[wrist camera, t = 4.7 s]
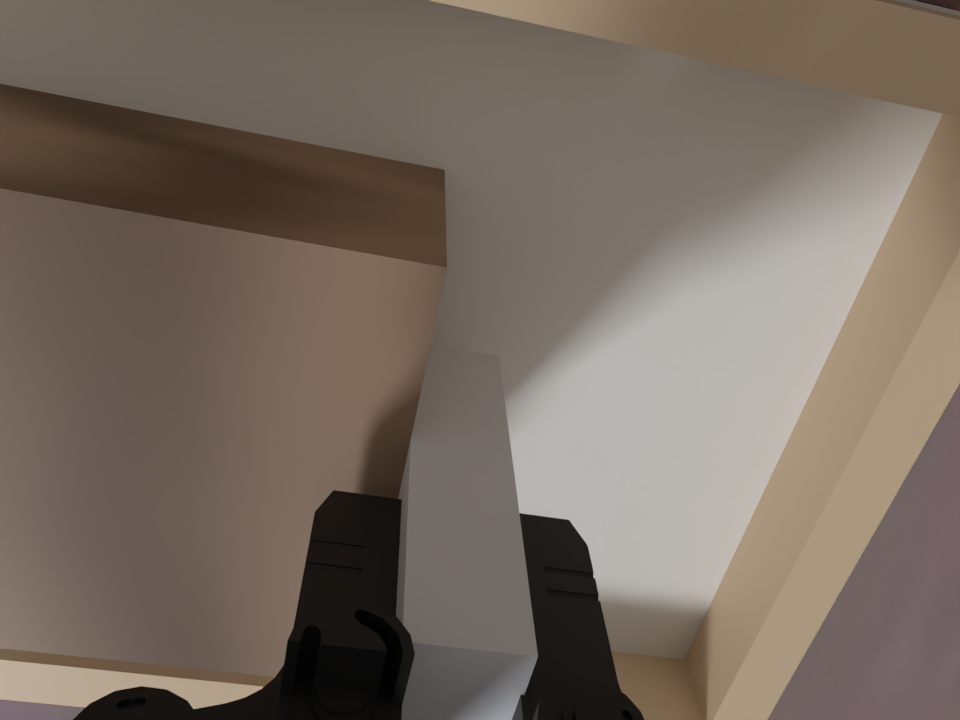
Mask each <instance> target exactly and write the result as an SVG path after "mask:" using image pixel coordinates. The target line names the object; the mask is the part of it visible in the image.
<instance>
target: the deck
mask: <svg viewBox="0 0 960 720" xmlns="http://www.w3.org/2000/svg"><path fill="white" fill-rule="evenodd" d="M0 84H5V85H10V86H15V87H20V88H25V89H30V90H35V91H41V92H46V93H51V94H56V95H61V96H66V97H72V98H77V99H82V100H87V101H92V102H97V103H102V104H108V105H113V106H118V107H123V108H128V109H133V110H139V111H144V112H149V113H154V114H159V115H164V116H170V117H175V118H180V119H185V120H190V121H195V122H200V123H206V124H211V125H216V126H221V127H226V128H231V129H237V130H242V131H247V132H252V133H257V134H262V135H268V136H273V137H278V138H283V139H288V140H293V141H298V142H304V143H309V144H314V145H319V146H324V147H329V148H335V149H340V150H345V151H350V152H355V153H360V154H366V155H371V156H376V157H381V158H386V159H391V160H396V161H402V162H407V163H412V164H417V165H422V166H427V167H433V168H438V169H443V170H445V207H446V248H447V270H446V275H445V279H444V284H443V289H442V294H441V298H440V303H439V308H438V313H437V317H436V322H435V327H434V332H433V336H432V341H431V345H436V346H442V347H448V348H454V349H460V350H467V351H473V352H479V353H485V354H491V355H497V356H499V360H500V368H501V375H502V383H503V391H504V398H505V406H506V414H507V422H508V429H509V437H510V445H511V452H512V460H513V468H514V475H515V483H516V491H517V499H518V506H519V513H522V514H529V515H537V516H544V517H551V518H559V519H566V520H569V521H570V522H571V523H572V525H573V526H574V527H575V529H576V530H577V532H578V533H579V534H580V536H581V537H582V538H583V540H584V541H585V543H586V544H587V545H588V549H589V554H590V558H591V563H592V567H593V572H594V574H593V578H595V581H596V585H597V590H598V594H599V596H598V601H600V603H601V607H602V612H603V616H604V621H605V625H606V630H607V634H608V639H609V643H610V648H611V652H612V657H613V661H614V666H615V670H616V675H617V679H618V683H619V686H620V689H621V692H622V693H624V694H626V696H627V697H628V698H629V699H630V700H631V701H632V702H633V703H634V704H635V705H636V707H637V708H638V709H639V710H640V711H641V713H642V715H643V717H644V720H767V719H768V717H769V715H770V714H771V712H772V710H773V708H774V707H775V705H776V703H777V702H778V700H779V698H780V696H781V695H782V693H783V691H784V689H785V688H786V686H787V684H788V682H789V681H790V679H791V677H792V675H793V674H794V672H795V670H796V668H797V667H798V665H799V663H800V661H801V660H802V658H803V656H804V654H805V653H806V651H807V649H808V647H809V646H810V644H811V642H812V640H813V639H814V637H815V635H816V633H817V632H818V630H819V628H820V626H821V625H822V623H823V621H824V619H825V618H826V616H827V614H828V612H829V611H830V609H831V607H832V605H833V604H834V602H835V600H836V598H837V597H838V595H839V593H840V591H841V590H842V588H843V586H844V584H845V583H846V581H847V579H848V577H849V576H850V574H851V572H852V570H853V569H854V567H855V565H856V564H857V562H858V560H859V558H860V557H861V555H862V553H863V551H864V550H865V548H866V546H867V544H868V543H869V541H870V539H871V537H872V536H873V534H874V532H875V530H876V529H877V527H878V525H879V523H880V522H881V520H882V518H883V516H884V515H885V513H886V511H887V509H888V508H889V506H890V504H891V502H892V501H893V499H894V497H895V495H896V494H897V492H898V490H899V488H900V487H901V485H902V483H903V481H904V480H905V478H906V476H907V474H908V473H909V471H910V469H911V467H912V466H913V464H914V462H915V460H916V459H917V457H918V455H919V453H920V452H921V450H922V448H923V446H924V445H925V443H926V441H927V439H928V438H929V436H930V434H931V433H932V431H933V429H934V427H935V426H936V424H937V422H938V420H939V419H940V417H941V415H942V413H943V412H944V410H945V408H946V406H947V405H948V403H949V401H950V399H951V398H952V396H953V394H954V392H955V391H956V389H957V387H958V385H959V384H960V11H956V10H952V9H948V8H944V7H940V6H936V5H931V4H927V3H923V2H919V1H915V0H0ZM274 678H275V677H269V676H260V675H250V674H241V673H231V672H222V671H212V670H203V669H193V668H184V667H174V666H165V665H155V664H146V663H136V662H127V661H117V660H108V659H98V658H89V657H79V656H70V655H60V654H51V653H41V652H32V651H22V650H13V649H3V648H0V699H3V700H13V701H24V702H34V703H44V704H55V705H65V706H75V707H87V706H88V705H89V704H90V703H92V702H94V701H96V700H98V699H100V698H102V697H104V696H106V695H108V694H110V693H112V692H114V691H117V690H123V689H129V688H134V687H140V686H144V687H152V688H159V689H166V690H169V691H171V692H172V693H174V694H176V695H178V696H180V697H182V698H183V699H185V700H187V701H188V702H189V704H190V705H191V706H192V708H193V709H198V708H203V707H208V706H214V705H219V704H224V703H228V702H232V701H235V700H238V699H242V698H245V697H247V696H249V695H251V694H253V693H255V692H256V691H258V690H260V689H262V688H263V687H264V686H266V685H267V684H268V683H269V682H270V681H271V680H272V679H274Z"/></svg>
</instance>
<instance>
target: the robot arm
mask: <svg viewBox="0 0 960 720" xmlns="http://www.w3.org/2000/svg"><path fill="white" fill-rule="evenodd" d="M593 574H594V572H593V567H592V563H591V558H590V554H589V549H588V545H587V544H586V543H585V541H584V540H583V538H582V537H581V536H580V534H579V533H578V532H577V530H576V529H575V527H574V526H573V525H572V523H571V522H570V521H569V520H566V519H559V518H551V517H544V516H537V515H529V514H522V513H519V506H518V499H517V491H516V483H515V475H514V468H513V460H512V452H511V445H510V437H509V429H508V422H507V414H506V406H505V398H504V391H503V383H502V375H501V368H500V360H499V356H497V355H491V354H485V353H479V352H473V351H467V350H460V349H454V348H448V347H442V346H436V345H431V346H430V351H429V355H428V360H427V365H426V370H425V374H424V379H423V384H422V389H421V393H420V398H419V403H418V408H417V412H416V417H415V422H414V427H413V431H412V436H411V440H410V445H409V449H408V454H407V459H406V464H405V468H404V473H403V478H402V483H401V487H400V492H399V497H398V499H395V498H388V497H381V496H373V495H366V494H359V493H351V492H344V491H336V490H333V491H332V493H331V494H330V495H329V496H328V497H327V498H326V500H325V501H324V502H323V503H322V504H321V505H320V506H319V508H318V509H317V510H316V511H315V514H314V519H313V525H312V530H311V535H310V541H309V546H308V552H307V557H306V563H305V568H304V573H303V579H302V584H301V589H300V595H299V600H298V606H297V611H296V617H295V622H294V627H293V630H292V632H291V634H290V636H289V638H288V641H287V648H286V655H285V662H284V665H283V667H282V668H281V670H280V671H279V672H278V674H277V675H276V677H275V678H274V679H272V680H271V681H270V682H269V683H268V684H267V685H266V686H264V687H263V688H262V689H260V690H258V691H256V692H255V693H253V694H251V695H249V696H247V697H245V698H242V699H238V700H235V701H232V702H228V703H224V704H219V705H214V706H208V707H203V708H198V709H193V708H192V706H191V705H190V704H189V702H188V701H187V700H185V699H183V698H182V697H180V696H178V695H176V694H174V693H172V692H171V691H169V690H166V689H159V688H152V687H144V686H140V687H134V688H129V689H123V690H117V691H114V692H112V693H110V694H108V695H106V696H104V697H102V698H100V699H98V700H96V701H94V702H92V703H90V704H89V705H88V706H87V707H86V708H85V709H84V710H83V711H82V712H81V713H79V714H78V715H77V716H76V717H75V718H74V719H73V720H644V717H643V715H642V713H641V711H640V710H639V709H638V708H637V707H636V705H635V704H634V703H633V702H632V701H631V700H630V699H629V698H628V697H627V696H626V694H624V693H622V692H621V689H620V686H619V683H618V679H617V675H616V670H615V666H614V661H613V657H612V652H611V648H610V643H609V639H608V634H607V630H606V625H605V621H604V616H603V612H602V607H601V603H600V601H598V596H599V594H598V590H597V585H596V581H595V578H593Z"/></svg>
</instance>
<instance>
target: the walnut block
mask: <svg viewBox="0 0 960 720" xmlns="http://www.w3.org/2000/svg"><path fill="white" fill-rule="evenodd" d="M446 270H447V248H446V207H445V170H443V169H438V168H433V167H427V166H422V165H417V164H412V163H407V162H402V161H396V160H391V159H386V158H381V157H376V156H371V155H366V154H360V153H355V152H350V151H345V150H340V149H335V148H329V147H324V146H319V145H314V144H309V143H304V142H298V141H293V140H288V139H283V138H278V137H273V136H268V135H262V134H257V133H252V132H247V131H242V130H237V129H231V128H226V127H221V126H216V125H211V124H206V123H200V122H195V121H190V120H185V119H180V118H175V117H170V116H164V115H159V114H154V113H149V112H144V111H139V110H133V109H128V108H123V107H118V106H113V105H108V104H102V103H97V102H92V101H87V100H82V99H77V98H72V97H66V96H61V95H56V94H51V93H46V92H41V91H35V90H30V89H25V88H20V87H15V86H10V85H5V84H0V648H3V649H13V650H22V651H32V652H41V653H51V654H60V655H70V656H79V657H89V658H98V659H108V660H117V661H127V662H136V663H146V664H155V665H165V666H174V667H184V668H193V669H203V670H212V671H222V672H231V673H241V674H250V675H260V676H269V677H276V675H277V674H278V672H279V671H280V670H281V668H282V667H283V665H284V662H285V655H286V648H287V641H288V638H289V636H290V634H291V632H292V630H293V627H294V622H295V617H296V611H297V606H298V600H299V595H300V589H301V584H302V579H303V573H304V568H305V563H306V557H307V552H308V546H309V541H310V535H311V530H312V525H313V519H314V514H315V511H316V510H317V509H318V508H319V506H320V505H321V504H322V503H323V502H324V501H325V500H326V498H327V497H328V496H329V495H330V494H331V493H332V491H333V490H336V491H344V492H351V493H359V494H366V495H373V496H381V497H388V498H395V499H398V497H399V492H400V487H401V483H402V478H403V473H404V468H405V464H406V459H407V454H408V449H409V445H410V440H411V436H412V431H413V427H414V422H415V417H416V412H417V408H418V403H419V398H420V393H421V389H422V384H423V379H424V374H425V370H426V365H427V360H428V355H429V351H430V346H431V341H432V336H433V332H434V327H435V322H436V317H437V313H438V308H439V303H440V298H441V294H442V289H443V284H444V279H445V275H446Z"/></svg>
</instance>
